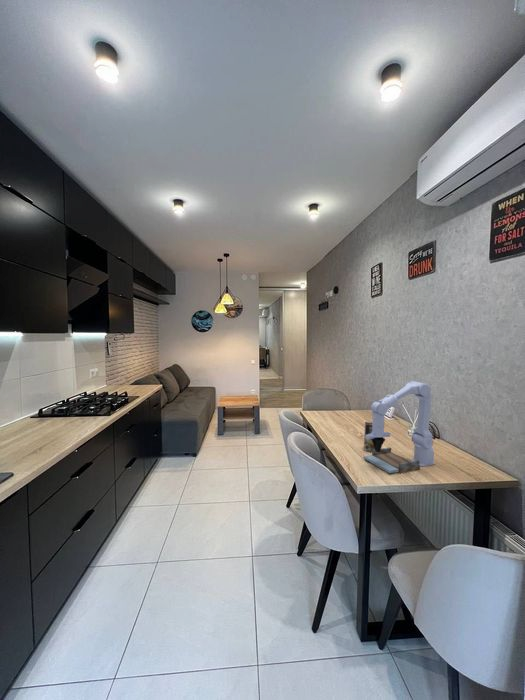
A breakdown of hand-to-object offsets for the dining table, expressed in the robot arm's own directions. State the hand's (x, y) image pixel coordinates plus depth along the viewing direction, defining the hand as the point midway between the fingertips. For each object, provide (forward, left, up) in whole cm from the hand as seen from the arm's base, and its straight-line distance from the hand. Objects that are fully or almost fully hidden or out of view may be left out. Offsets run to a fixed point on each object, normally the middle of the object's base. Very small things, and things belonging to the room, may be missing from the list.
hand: (377, 451), depth 154 cm
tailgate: (-5, 0, -6) cm, 8 cm away
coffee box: (-13, -19, -8) cm, 25 cm away
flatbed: (-12, 0, -8) cm, 14 cm away
